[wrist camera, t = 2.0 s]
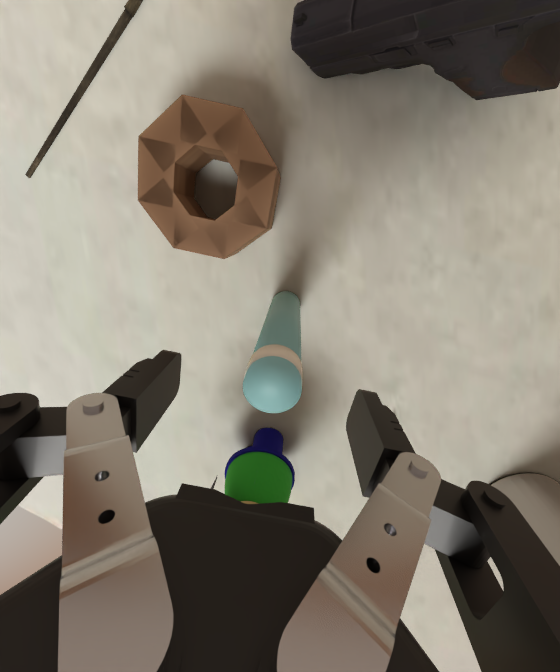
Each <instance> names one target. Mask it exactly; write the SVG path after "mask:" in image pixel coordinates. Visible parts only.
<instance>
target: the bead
mask: <svg viewBox="0 0 560 672" xmlns="http://www.w3.org/2000/svg"><path fill="white" fill-rule="evenodd" d="M213 159H215V160H220V161H224V162H229V163H230V164H231V166H232V168H233V169H234V171H235V172H236V174H237V176H238V181H237V189H236V197H235V204H234V206H233V207H232V208H230V209H229V210H228V211H226V212H225V213H224V214H223V215H221V216H220V217H219V218H217V219H213V218H209V217H207V216H206V214H205V213H204V212H203V210H202V209H201V207H200V206H199V204H198V203H197V201H196V200H195V198H194V192H195V179H196V173H197V172H198V171H200V170H201V169H202V168H203V167H204V166H205V165H207V164H208V163H209V162H210V161H211V160H213ZM280 179H281V177H280V174H279V171H278V169H277V166H276V165H275V163H274V161H273V160H272V158H271V156H270V154H269V153H268V151H267V149H266V147H265V146H264V144H263V142H262V141H261V139H260V137H259V135H258V134H257V132H256V130H255V128H254V127H253V125H252V123H251V121H250V120H249V118H248V116H247V115H246V113H245V111H244V109H243V108H239V107H235V106H230V105H226V104H221V103H217V102H213V101H208V100H204V99H199V98H195V97H191V96H186V95H181V96H180V97H179V98H178V99H177V100H176V101H175V102H174V103H173V104H172V105H171V106H170V107H169V108H168V109H167V110H166V111H165V112H164V113H162V114H161V115H160V116H159V117H158V118H157V119H156V120H155V121H154V122H153V123H152V124H151V125H150V126H149V127H148V128H147V129H146V130H145V131H144V132H143V133H141V134H140V135H139V141H138V201H139V202H140V204H141V205H142V206H143V208H144V209H145V210H146V212H147V213H148V214H149V216H150V217H151V218H152V220H153V221H154V222H155V224H156V225H157V226H158V228H159V229H160V230H161V232H162V233H163V234H164V236H165V237H166V238H167V240H168V241H169V242H170V244H171V245H172V247H173V248H176V249H181V250H186V251H190V252H195V253H199V254H204V255H208V256H213V257H218V258H222V259H225V258H228V257H230V256H232V255H235V254H236V253H238V252H239V251H241V250H242V249H243V248H245V247H246V246H248V245H249V244H250V243H252V242H253V241H255V240H256V239H257V238H259V237H260V236H262V235H263V234H264V233H266V232H267V231H269V230H270V229H271V228H272V224H273V218H274V213H275V207H276V202H277V196H278V190H279V185H280Z"/></svg>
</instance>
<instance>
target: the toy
mask: <svg viewBox="0 0 560 672" xmlns="http://www.w3.org/2000/svg"><path fill="white" fill-rule="evenodd" d="M282 451H283V436H282V435H281V433H280V432H279V431H277V430H276V429H273V428H262V429H260V430H258V431H257V432H256V434H255V436H254V441H253V446H249V447H247V448H244V449H242V450H240V451H238V452H236V453H235V454H233V455H232V456H231V458H230V459H229V461H228V462H227V465H226V468H225V479H226V480H225V495H228V496H230V497H232V498H234V499H236V500H238V501H241V502H243V503H245V504H259V503H274V502H284V503H288V500H289V497H290V493H291V489H292V487H293V485H294V475H295V472H294V469H293V466H292V464H291V462H290V461H289V460H288V459H287V458H286V457H285V456H284V455H283V454H282ZM217 476H218V475H217ZM216 479H217V477H216ZM216 479H215V481H214V483H213V485H212V487H211V489H213V488H214V485H215V482H216Z"/></svg>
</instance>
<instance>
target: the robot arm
mask: <svg viewBox="0 0 560 672" xmlns="http://www.w3.org/2000/svg"><path fill="white" fill-rule="evenodd" d="M180 371H181V354H180V353H177V352H172V351H167V350H162V351H161V352H160V353H159V354H158V355H156V356H155V357H154V358H153V359H149V358H147V359H145V360H142V361H140V362H137V363H136V364H135V365H134V366H132V367H131V368H130V369H129V371H127V372H126V373H124V374H123V376H121V377H120V378H119V379H117V380H116V381H115V382H114V383H113V384H112V385H111V386H109V387H108V388H107V389H106V390H105V391H104V392H102V393H92V394H87V395H84V396H81V397H79V398H77V399H75V400H73V401H72V402H71V403H70V404H69V405H68V407H40V406H39V400H38V398H37V397H36V396H35V395H32V394H28V393H12V394H6V395H2V396H0V524H1V523H2V522H3V521H4V519H5V518H6V517H7V516H8V515H9V514H10V513H11V512H12V511H13V510H14V509H15V508H16V506H17V505H18V504H19V503H20V502H21V501H22V500H23V499H24V498H25V497H26V496H27V494H28V493H29V492H30V491H31V490H32V489H33V488H34V487H35V486H36V485H37V484H38V482H39V481H40V480H41V479H42V478H43V477H44V476H53V475H63V534H62V535H63V536H62V540H63V541H62V556H60V557H58V558H57V559H55V560H54V561H52V562H51V563H49V564H48V565H46V566H44V567H43V568H41V569H40V570H38V571H37V572H35V573H34V574H32V575H31V576H29V577H27V578H26V579H24V580H23V581H21V582H20V583H18V584H17V585H15V586H14V587H12V588H10V589H9V590H7V591H6V592H4V593H3V594H1V595H0V672H439V671H438V669H437V668H436V667H435V665H434V664H433V663H432V661H431V660H430V659H429V657H428V656H427V654H426V653H425V652H424V650H423V649H422V648H421V646H420V645H419V643H418V642H417V641H416V639H415V638H414V637H413V635H412V634H411V633H410V631H409V630H408V628H407V627H406V626H405V624H404V623H403V622H402V620H401V619H400V616H401V613H402V610H403V607H404V603H405V600H406V597H407V594H408V591H409V588H410V585H411V582H412V579H413V576H414V573H415V570H416V567H417V564H418V560H419V557H420V554H421V551H422V548H423V545H424V544H426V545H428V546H430V547H432V548H434V549H435V551H436V554H437V556H438V559H439V561H440V564H441V567H442V569H443V572H444V574H445V577H446V580H447V582H448V585H449V588H450V590H451V593H452V595H453V598H454V601H455V603H456V606H457V608H458V611H459V614H460V616H461V619H462V622H463V624H464V627H465V629H466V632H467V635H468V637H469V640H470V642H471V645H472V648H473V650H474V653H475V656H476V658H477V661H478V663H479V666H480V669H481V671H482V672H560V484H559V483H558V482H556V481H555V480H554V479H552V478H550V477H547V476H545V475H540V474H531V473H526V474H517V475H513V476H508V477H506V478H503V479H501V480H498V481H497V482H495V483H493V484H491V485H489V484H487V483H484V482H481V481H471V482H470V483H469V484H468V486H467V487H466V489H463V488H460V487H458V486H456V485H453V484H451V483H449V482H446V481H444V480H442V479H441V476H440V473H439V472H438V470H437V469H436V468H435V466H434V465H433V464H432V463H430V462H429V461H428V460H426V459H425V458H423V457H422V456H420V455H417V454H416V453H415V451H414V450H413V448H412V446H411V444H410V442H409V440H408V438H407V436H406V434H405V433H404V432H403V429H402V427H401V425H400V424H399V421H398V419H397V417H396V416H395V414H394V413H393V412H392V411H391V410H390V409H389V408H388V407H387V406H385V405H382V403H381V401H380V399H379V397H378V395H377V393H375V392H370V391H365V390H360V389H359V390H358V391H357V392H356V395H355V398H354V400H353V403H352V406H351V409H350V412H349V414H348V417H347V422H346V431H347V435H348V439H349V443H350V447H351V451H352V455H353V459H354V463H355V467H356V471H357V475H358V479H359V483H360V487H361V491H362V495H363V496H364V497H369V500H368V501H367V503H366V504H365V506H364V507H363V509H362V511H361V512H360V514H359V515H358V517H357V519H356V520H355V522H354V523H353V525H352V526H351V528H350V530H349V531H348V533H347V534H346V536H345V537H344V539H343V541H342V540H341V539H340V538H339V537H338V536H337V535H336V534H335V533H334V532H332V531H331V530H330V529H328V528H327V527H326V526H324V525H322V524H321V523H319V522H317V521H315V520H314V508H311V507H306V506H300V505H295V504H290V503H284V502H274V503H259V504H245V503H243V502H241V501H238V500H236V499H234V498H232V497H230V496H228V495H225V494H223V493H221V492H219V491H217V490H215V489H209V488H204V487H198V486H193V485H188V484H182V485H181V487H180V489H179V491H178V494H177V495H169V496H164V497H160V498H156V499H153V500H151V501H148V502H146V503H145V501H144V497H143V493H142V489H141V484H140V480H139V476H138V472H137V467H136V463H135V459H134V455H133V452H135V453H137V451H138V450H139V448H140V447H141V445H142V444H143V443H144V441H145V440H146V438H147V437H148V435H149V434H150V433H151V431H152V430H153V428H154V427H155V425H156V424H157V423H158V421H159V420H160V418H161V417H162V415H163V414H164V413H165V411H166V410H167V408H168V407H169V405H170V404H171V403H172V401H173V400H174V398H175V397H176V395H177V392H178V389H179V384H180ZM490 557H491V558H492V559H493V561H494V563H495V565H496V567H497V569H498V570H499V572H500V574H501V577H502V580H503V585H504V591H503V590H502V588H501V586H500V584H499V583H498V581H497V579H496V577H495V575H494V573H493V571H492V569H491V567H490V565H489V564H488V562H487V561H488V559H489V558H490Z"/></svg>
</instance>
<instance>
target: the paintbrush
mask: <svg viewBox="0 0 560 672" xmlns="http://www.w3.org/2000/svg"><path fill="white" fill-rule="evenodd" d="M142 1H143V0H129V1H128V2H127V3H126V5H125V6H124V7H125V10H124V12H123V13H122V15H121V17H120V18H119V20H118V22H117V23H116V25H115V27H114V28H113V30H112V32H111V33H110V35H109V37H108V38H107V40H106V42H105V43H104V45H103V47H102V48H101V50H100V52H99V53H98V55H97V56H96V58H95V60H94V61H93V63H92V65H91V66H90V68H89V70H88V71H87V73H86V75H85V76H84V78H83V80H82V81H81V83H80V85H79V86H78V88H77V90H76V91H75V93H74V95H73V96H72V98H71V100H70V101H69V103H68V105H67V106H66V108H65V110H64V111H63V113H62V115H61V116H60V118H59V120H58V121H57V123H56V125H55V126H54V128H53V130H52V131H51V133H50V135H49V136H48V138H47V140H46V141H45V143H44V145H43V146H42V148H41V150H40V151H39V153H38V155H37V156H36V158H35V160H34V161H33V163H32V165H31V166H30V168H29V170H28V171H27V173H26V176H27V177H29V178H31V176H32V175H33V173H34V171H35V170H36V168H37V167H38V165H39V164H40V162H41V160H42V159H43V157H44V156H45V154H46V153H47V151H48V149H49V148H50V146H51V145H52V143H53V142H54V140H55V138H56V137H57V135H58V134H59V132H60V130H61V129H62V127H63V126H64V124H65V123H66V121H67V119H68V118H69V116H70V115H71V113H72V112H73V110H74V108H75V107H76V105H77V104H78V102H79V101H80V99H81V97H82V96H83V94H84V93H85V91H86V89H87V88H88V86H89V85H90V83H91V82H92V80H93V78H94V77H95V75H96V74H97V72H98V71H99V69H100V67H101V66H102V64H103V63H104V61H105V60H106V58H107V56H108V55H109V53H110V52H111V50H112V49H113V47H114V45H115V44H116V42H117V41H118V39H119V37H120V36H121V34H122V33H123V31H124V30H125V28H126V26H127V25H128V23H129V22H130V20H131V19H132V17H134V15H135V13H136V11H137V10H138V8H139V6H140V5H141V3H142Z"/></svg>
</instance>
